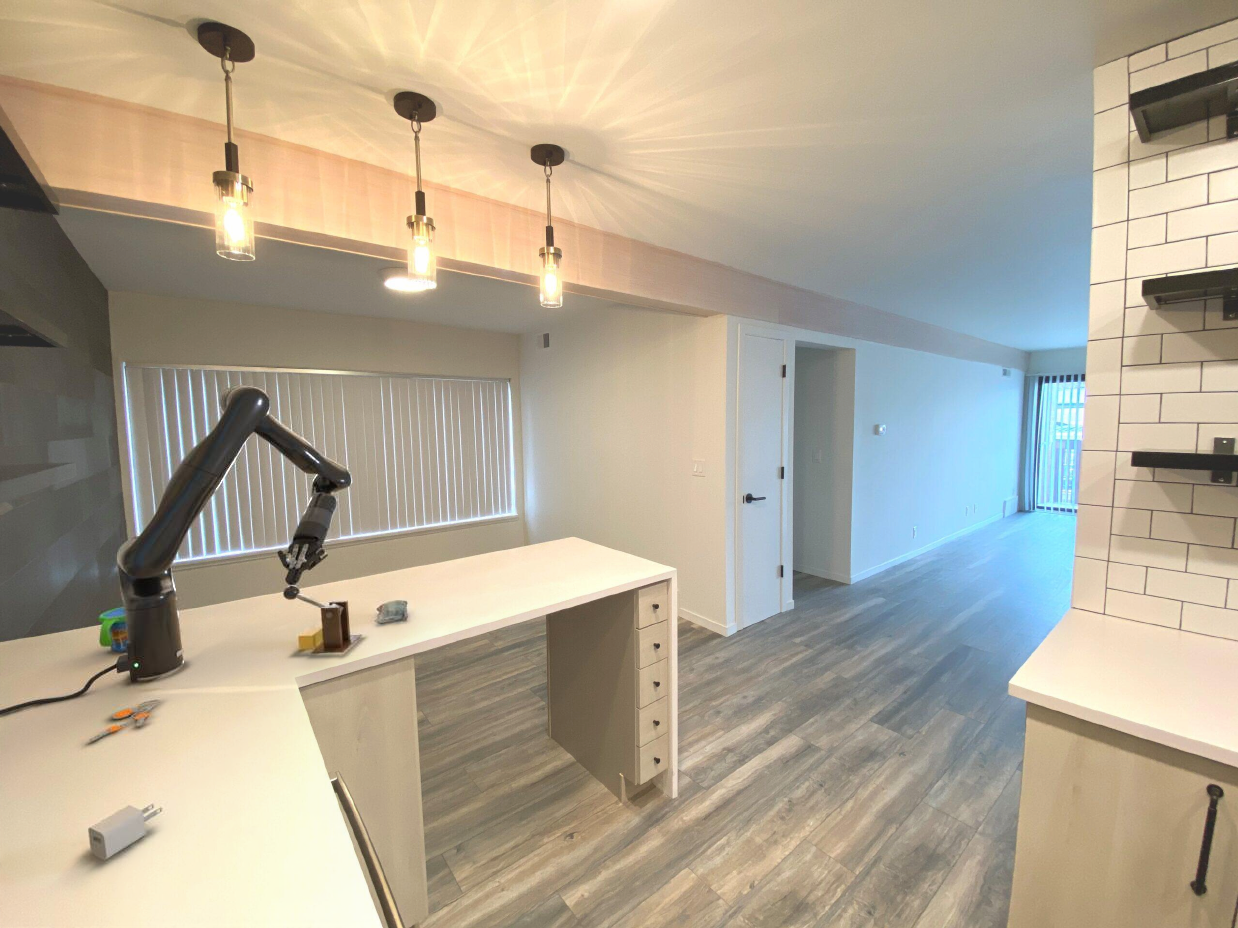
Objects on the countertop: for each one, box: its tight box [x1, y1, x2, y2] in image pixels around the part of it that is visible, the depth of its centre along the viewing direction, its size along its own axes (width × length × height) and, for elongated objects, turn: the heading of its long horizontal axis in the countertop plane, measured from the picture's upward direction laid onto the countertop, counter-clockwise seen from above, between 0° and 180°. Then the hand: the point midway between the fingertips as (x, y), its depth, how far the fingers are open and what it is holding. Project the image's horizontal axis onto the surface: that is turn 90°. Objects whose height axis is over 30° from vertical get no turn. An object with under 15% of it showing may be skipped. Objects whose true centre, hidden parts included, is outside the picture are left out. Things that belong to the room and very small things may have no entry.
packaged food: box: [374, 599, 408, 624], centre depth 151 cm, size 9×12×5 cm
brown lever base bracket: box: [310, 600, 362, 654], centre depth 132 cm, size 8×10×12 cm
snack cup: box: [98, 606, 128, 653], centre depth 135 cm, size 16×10×10 cm
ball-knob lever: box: [282, 585, 344, 615], centre depth 132 cm, size 15×4×4 cm, turn 92°
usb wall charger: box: [87, 803, 163, 861], centre depth 73 cm, size 4×7×4 cm, turn 159°
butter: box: [297, 626, 323, 651], centre depth 133 cm, size 5×8×5 cm, turn 2°
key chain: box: [88, 699, 161, 742], centre depth 102 cm, size 13×7×1 cm, turn 20°
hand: (290, 583), depth 131 cm, fingers closed
